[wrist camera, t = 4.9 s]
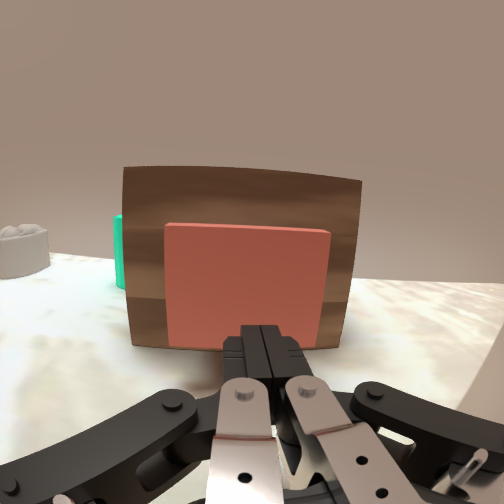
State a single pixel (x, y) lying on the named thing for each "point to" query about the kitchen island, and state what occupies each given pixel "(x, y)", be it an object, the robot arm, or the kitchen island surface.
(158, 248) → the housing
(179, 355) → the kitchen island surface
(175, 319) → the coral square plate
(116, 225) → the candle
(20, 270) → the lumpy-topped squat cylinder
